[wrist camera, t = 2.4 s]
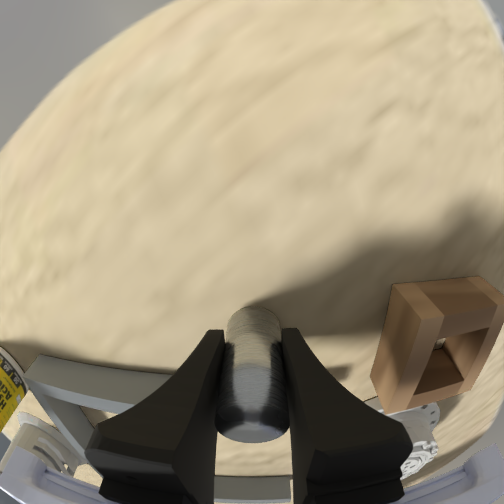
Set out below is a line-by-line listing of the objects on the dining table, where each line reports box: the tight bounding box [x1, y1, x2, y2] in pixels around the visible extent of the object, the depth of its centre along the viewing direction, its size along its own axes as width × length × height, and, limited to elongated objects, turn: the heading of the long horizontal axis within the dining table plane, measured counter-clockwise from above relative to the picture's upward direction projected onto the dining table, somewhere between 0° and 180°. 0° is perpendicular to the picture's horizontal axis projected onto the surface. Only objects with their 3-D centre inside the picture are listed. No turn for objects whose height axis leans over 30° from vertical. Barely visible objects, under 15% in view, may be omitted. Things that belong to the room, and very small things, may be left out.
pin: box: [214, 307, 290, 443], centre depth 10 cm, size 2×2×6 cm
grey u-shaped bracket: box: [22, 354, 291, 503], centre depth 16 cm, size 15×17×2 cm
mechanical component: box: [364, 397, 440, 480], centre depth 15 cm, size 10×4×10 cm
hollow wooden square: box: [370, 276, 504, 415], centre depth 12 cm, size 6×6×3 cm
